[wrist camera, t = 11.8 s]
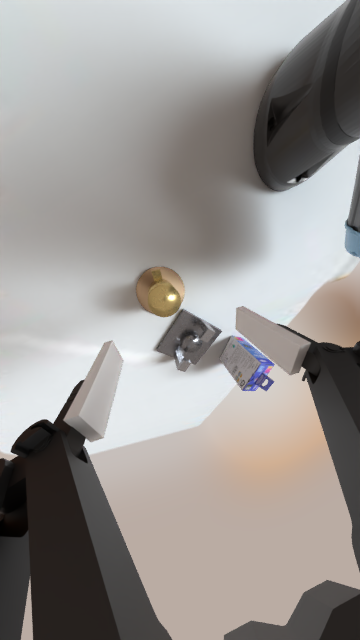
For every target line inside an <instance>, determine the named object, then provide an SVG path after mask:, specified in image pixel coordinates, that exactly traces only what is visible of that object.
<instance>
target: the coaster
mask: <svg viewBox="0 0 360 640" xmlns="http://www.w3.org/2000/svg"><path fill="white" fill-rule="evenodd" d="M157 269H160V271H161V275H162V279H165V280H167V281H169V282H170V283H171V284H172V285H173V286H174V288H175V289H176V290H177V291H178V293H179V295H180V297H181V303H182V301H183V298H184V293H185V289H184V284H183V281H182V279H181V278H180V276H179V275H178V274H177V273H176V272H174V271H173V270H171V269H169V268H166V267H154V268H151V269H149V270H147V271H146V272H144V273H143V274H142V276H141V277H140V278H139V280H138V283H137V287H136V293H137V298H138V300H139V302H140V304H141V305H142V306H143V307H144V308H145V309H146V310H147V311H149V312H151V313H153V312H152V311H151V310H150V308H149V306H148V289H149V286H150V285H151V283H152V282H154V279H153V275H152V272H151V271H153V270H157Z"/></svg>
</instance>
